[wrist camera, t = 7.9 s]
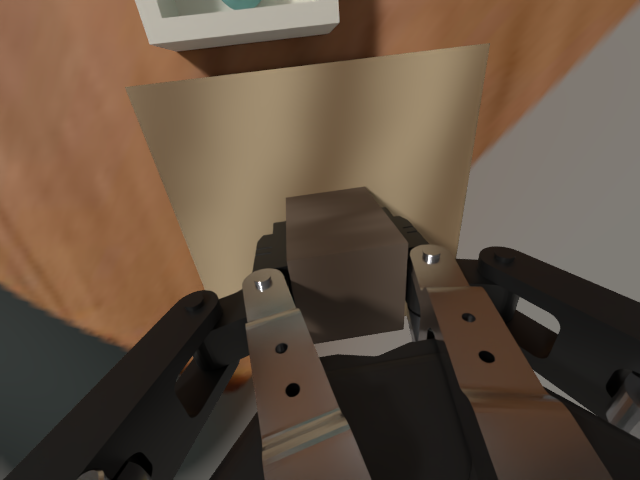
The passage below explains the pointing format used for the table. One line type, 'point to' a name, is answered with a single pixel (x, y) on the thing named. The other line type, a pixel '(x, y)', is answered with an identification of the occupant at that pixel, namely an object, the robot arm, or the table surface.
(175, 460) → the robot arm
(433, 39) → the table surface
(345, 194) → the lid
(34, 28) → the table surface
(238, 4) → the ball
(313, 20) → the box
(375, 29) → the table surface
